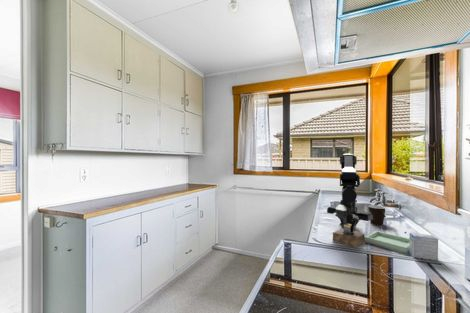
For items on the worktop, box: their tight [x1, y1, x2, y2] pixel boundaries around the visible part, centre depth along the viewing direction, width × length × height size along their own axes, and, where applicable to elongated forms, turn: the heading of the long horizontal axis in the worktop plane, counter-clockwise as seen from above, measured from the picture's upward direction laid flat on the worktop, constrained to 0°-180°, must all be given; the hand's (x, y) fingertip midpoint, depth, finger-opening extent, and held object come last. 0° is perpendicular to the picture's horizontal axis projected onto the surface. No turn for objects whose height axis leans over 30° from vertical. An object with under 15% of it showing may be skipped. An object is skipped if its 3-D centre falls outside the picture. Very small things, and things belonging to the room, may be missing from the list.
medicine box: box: [408, 232, 439, 261], centre depth 90 cm, size 8×4×9 cm, turn 71°
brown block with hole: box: [332, 227, 365, 248], centre depth 106 cm, size 10×10×4 cm
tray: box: [364, 230, 410, 255], centre depth 103 cm, size 16×14×2 cm
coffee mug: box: [368, 204, 386, 226], centre depth 132 cm, size 12×9×10 cm
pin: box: [344, 223, 353, 235], centre depth 106 cm, size 3×3×8 cm
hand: (348, 231), depth 106 cm, fingers open, 3 cm apart
